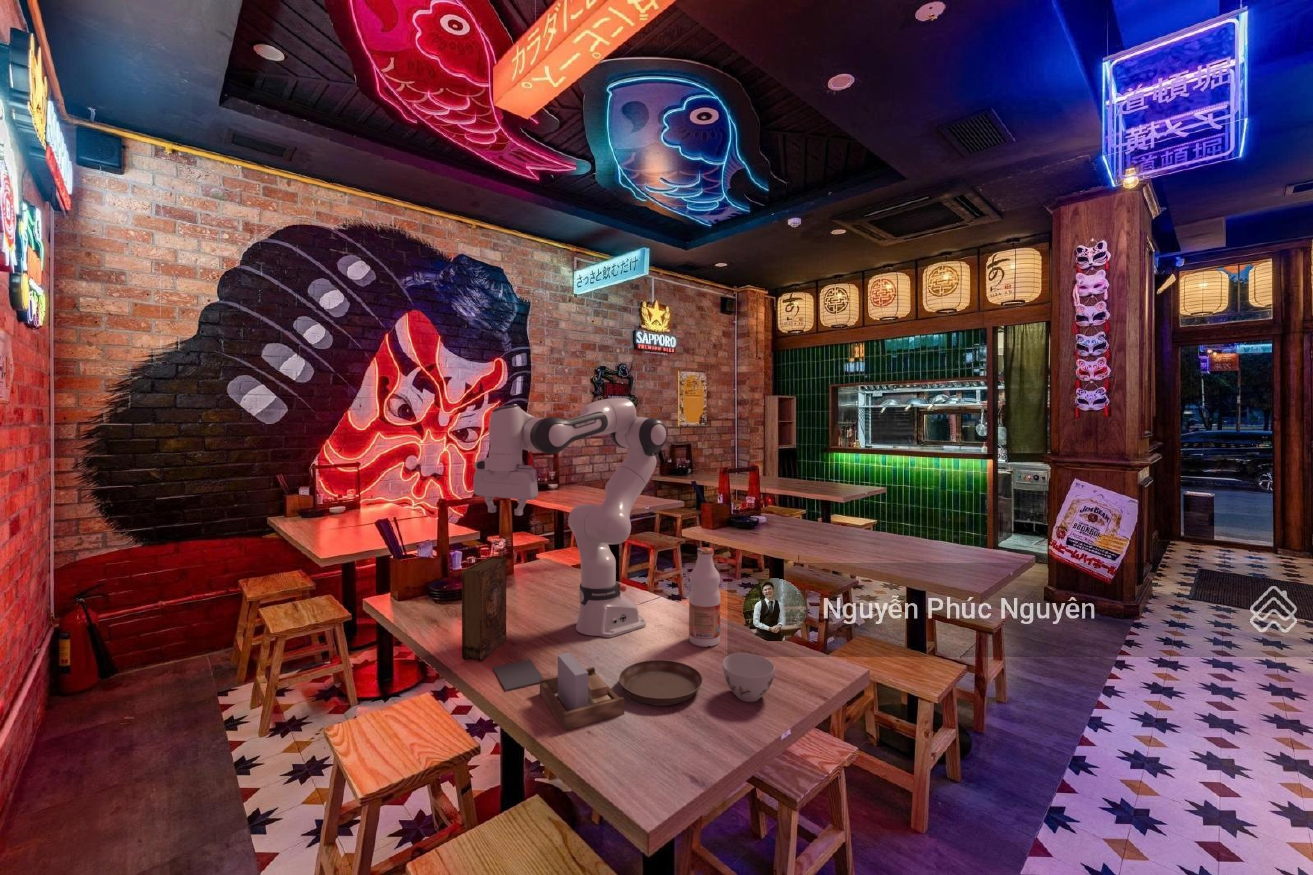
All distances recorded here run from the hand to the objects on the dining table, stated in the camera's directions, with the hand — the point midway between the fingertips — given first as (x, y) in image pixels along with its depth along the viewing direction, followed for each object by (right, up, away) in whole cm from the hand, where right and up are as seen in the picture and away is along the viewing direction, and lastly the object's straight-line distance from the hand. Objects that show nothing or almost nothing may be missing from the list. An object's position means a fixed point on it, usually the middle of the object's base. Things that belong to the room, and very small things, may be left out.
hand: (505, 513), depth 149 cm
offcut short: (+27, -39, -21) cm, 52 cm away
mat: (+6, -41, -9) cm, 42 cm away
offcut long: (+27, -42, -21) cm, 54 cm away
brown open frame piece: (+24, -41, -23) cm, 53 cm away
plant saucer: (+43, -42, -16) cm, 62 cm away
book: (-7, -40, +7) cm, 42 cm away
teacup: (+65, -42, -18) cm, 79 cm away
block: (+22, -41, -24) cm, 53 cm away
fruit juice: (+56, -41, +14) cm, 71 cm away
